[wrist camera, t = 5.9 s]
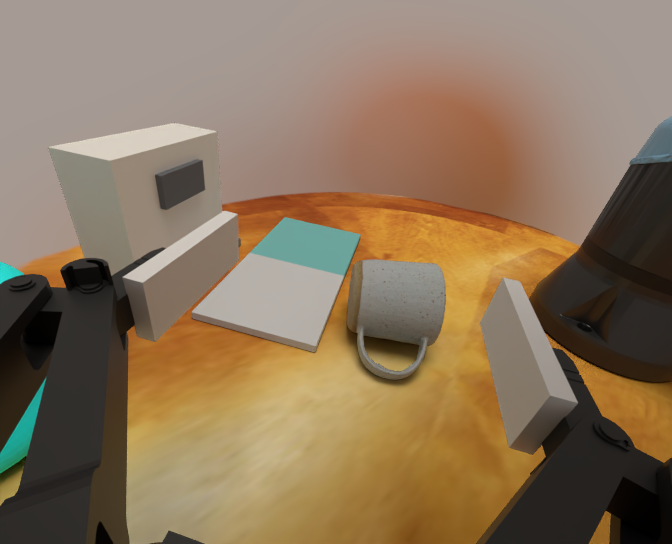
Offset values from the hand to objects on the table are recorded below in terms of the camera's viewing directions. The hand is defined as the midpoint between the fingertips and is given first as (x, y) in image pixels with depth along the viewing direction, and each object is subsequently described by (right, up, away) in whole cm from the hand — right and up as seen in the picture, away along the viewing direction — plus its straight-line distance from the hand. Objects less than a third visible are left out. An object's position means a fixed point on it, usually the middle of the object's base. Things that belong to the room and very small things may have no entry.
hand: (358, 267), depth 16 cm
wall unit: (-19, 0, +20) cm, 28 cm away
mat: (-6, 0, +24) cm, 24 cm away
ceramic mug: (+4, -7, +16) cm, 18 cm away
